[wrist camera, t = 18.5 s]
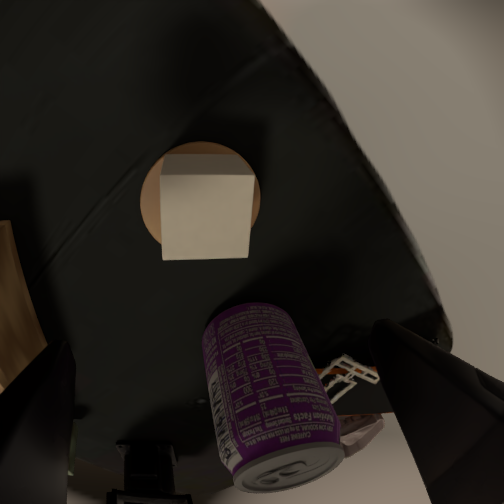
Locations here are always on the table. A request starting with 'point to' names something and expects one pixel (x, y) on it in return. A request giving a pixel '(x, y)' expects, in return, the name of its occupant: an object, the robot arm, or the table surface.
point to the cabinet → (15, 313)
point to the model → (347, 374)
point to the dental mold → (359, 431)
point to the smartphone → (357, 394)
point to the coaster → (152, 184)
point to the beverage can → (268, 401)
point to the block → (205, 206)
